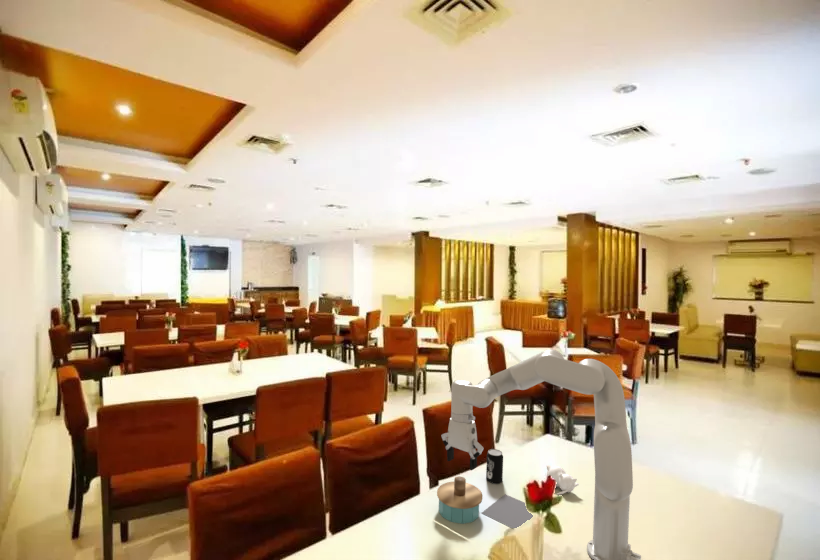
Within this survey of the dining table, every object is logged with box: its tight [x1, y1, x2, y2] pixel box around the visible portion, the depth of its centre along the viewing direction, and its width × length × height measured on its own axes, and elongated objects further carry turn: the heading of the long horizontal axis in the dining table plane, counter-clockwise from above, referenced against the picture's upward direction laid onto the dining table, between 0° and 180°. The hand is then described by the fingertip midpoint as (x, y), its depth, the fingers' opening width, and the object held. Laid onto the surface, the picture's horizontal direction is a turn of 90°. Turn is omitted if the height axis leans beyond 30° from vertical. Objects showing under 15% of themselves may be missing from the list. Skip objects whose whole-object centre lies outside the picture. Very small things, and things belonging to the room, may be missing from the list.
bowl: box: [438, 499, 480, 525], centre depth 142 cm, size 14×14×6 cm
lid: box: [436, 476, 483, 509], centre depth 142 cm, size 16×16×6 cm
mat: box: [481, 493, 533, 529], centre depth 142 cm, size 17×17×1 cm
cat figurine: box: [546, 464, 580, 496], centre depth 159 cm, size 9×11×12 cm
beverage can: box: [485, 448, 504, 485], centre depth 164 cm, size 7×7×12 cm
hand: (461, 464), depth 142 cm, fingers open, 9 cm apart
